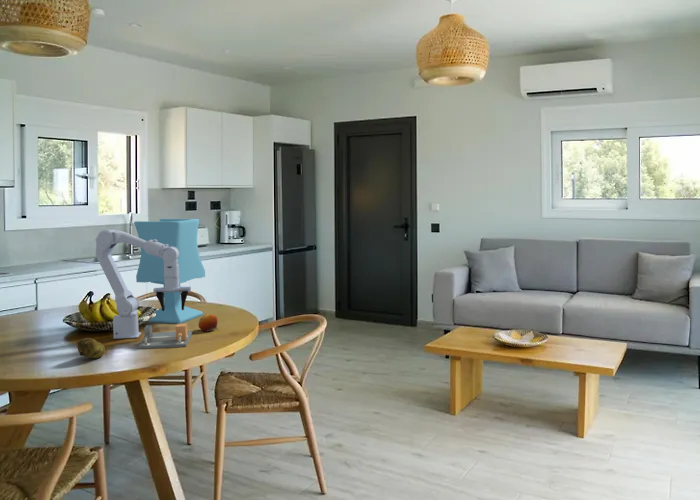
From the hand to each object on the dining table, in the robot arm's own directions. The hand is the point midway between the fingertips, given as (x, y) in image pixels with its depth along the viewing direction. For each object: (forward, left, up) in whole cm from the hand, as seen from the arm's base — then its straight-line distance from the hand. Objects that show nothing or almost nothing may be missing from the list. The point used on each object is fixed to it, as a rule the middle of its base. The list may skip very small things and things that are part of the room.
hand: (173, 310), depth 266 cm
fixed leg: (-8, -14, -9) cm, 19 cm away
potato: (-24, -31, -11) cm, 41 cm away
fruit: (+13, +7, -11) cm, 18 cm away
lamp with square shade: (-5, +35, -11) cm, 37 cm away
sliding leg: (+4, -14, -9) cm, 17 cm away
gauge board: (-2, -9, -10) cm, 14 cm away
